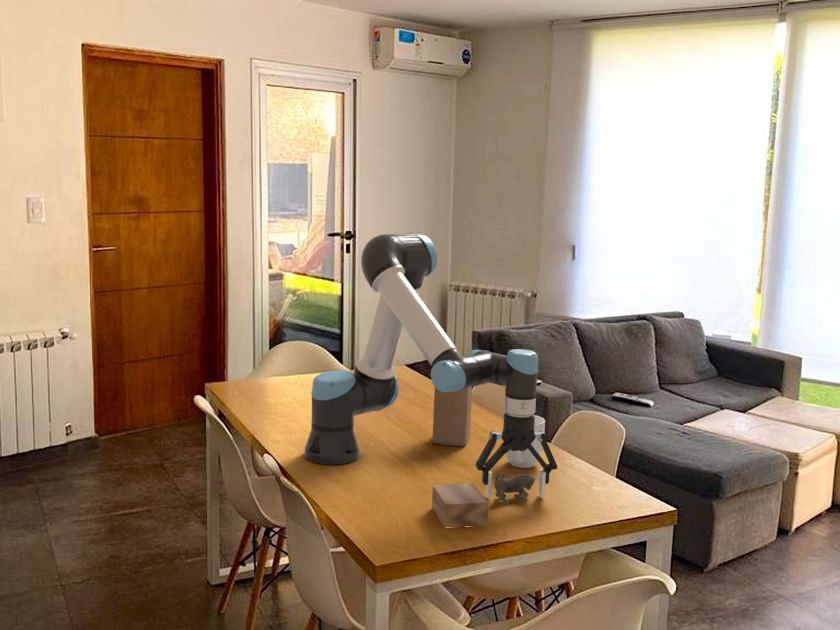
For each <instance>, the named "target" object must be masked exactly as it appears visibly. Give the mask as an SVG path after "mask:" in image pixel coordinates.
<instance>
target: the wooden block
mask: <svg viewBox="0 0 840 630" xmlns="http://www.w3.org/2000/svg"><path fill="white" fill-rule="evenodd" d="M472 395H473V387H468V388H464V389H461V390H459V391H452V392H441V391H439V390H438V389H436V387H435V386H434V396H433V397H434V398H433V416H432V417H433V421H432V439H431V440H432V443H433V444H435V445H443V446H451V447H453V446H454V447H465V446H466V445H467V442H468V440H469V438H470V436H471V421H472V420H471V419H472V417H471V416H472V400H473V399H472V397H473V396H472Z"/></svg>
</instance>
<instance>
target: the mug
mask: <svg viewBox="0 0 840 630" xmlns="http://www.w3.org/2000/svg"><path fill="white" fill-rule="evenodd" d="M534 416H535V424H534V433H539V432H540V431H543V432H544V433H545V431H546V430H545V429H546V420H545V418H544V417H541V416H539V415H535V414H534ZM531 445H532V446H533V448H534V449H535V450H536V451H537V453H538V454H539V455H540V456H541V455H542V451H543V447H542V445H541V443H540V442H539V441H538V440H537V438H535V440H534V441H533V442H532V444H531ZM505 455H506V457H507V460H508V462H509V463H510V465H511V466H514V467H515V468H519V469H529V468H530V469H531V468H533V467H535V465H536V464H537V463H538V461H537V459H536V458H535V457H534V456H533V454H532V453H531V452H530V451H529V449H526V450H525V451H519V450H518V451H512V450H509V451H508V452H507V453H505Z"/></svg>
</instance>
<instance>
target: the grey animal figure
mask: <svg viewBox="0 0 840 630" xmlns="http://www.w3.org/2000/svg"><path fill="white" fill-rule="evenodd" d="M505 476H506V474H505V473H504V472H499V473H497V474H496V475H495V477H494V488H495V491H496V493H495V497H498V498H499V499H500V500H501V501H502V502H503V503H504V504H505V505H506V506H510V503H509V501H508V500H507V499H506V498H505V497H507V495H506V494H511V493H512V494H513V493H516V494H514V495H513V497H515V499H517V500H521V501H525V500H526V501H529V499H528V496H529V495H528V492H526V491H525V489H526V490H528V491H530V490H531V489H532V486H533V485H534V483H535V481H536V477H535V475H532V474H530V473H521V474H517V475H514V476H513V477H511V478H505ZM505 493H506V494H505Z"/></svg>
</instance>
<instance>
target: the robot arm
mask: <svg viewBox="0 0 840 630" xmlns="http://www.w3.org/2000/svg"><path fill="white" fill-rule="evenodd" d="M360 259H361V260H360V263H361V269H362V274H363V276H364V278H365V280H366V282H367V283H368V285H369V286H370V288H371V289H372V291H373V292H375V293H379V294H380V295H379V299H378V302H377V303H378V304H377V307H376V310H375V315H374V317H373V321H372V325H371V329H370V332H369V336H368V340H367V343H366V346H365V350H364V354H363V358H360V359H358V360H357V361H356V362H355V367H354V370H353V372H352V371H349V370H345V369H337V370H328V371H325V372H322V373H319V374H317V375H316V376H314V378H313V380H312V387H311V393H310V394H311V426H310V427H311V428H310V432H309V435H308V438H307V441H306V443H305V446H304V458H305V459H306V460H308V461H309V462H311V463H315V464H319V465H329V466H330V465H331V466H333V465H338V466H339V465H344V464H349V463H353V462H356V461H357V460H358V459H359V457H360V447H359V444H358V440H357V436H356V434H355V430H354V424H355V423H354V422H355V420H354V419H355V418H354V417H355V416H360V415H364V414H367V413H368V414H369V413H372V412H379V411H382V410H384V409H387V408H388V407H390V406H392V405H393V404H394V402H396V399H397V398H398V395H399V393H400V392H399V391H400V384H398V382H399V380H398V379H399V378H398V377H397V375H396V370H395V368H394V361H395V359H396V354H397V351H398V348H399V344H400V341H401V337H402V334H403V332H404V331H403V330H404V329H405V330H406V332H407V333H408V334H409V336H410V337H411V339H412V341H414V343H415V345H416V346H417V348H418V349H419V350H420V352H421V353H422V355H423V356H424V357H425V359H426V360H427V362H428V363H429V365H430V366H431V367H432V368H431V371H430V378H431V381H432V383H431V384H432V385H433V386H434V388H435V387H436V389H438V390H439V391H441V392H452V391H459V390H461V389H464V388H468V387H472V388H473V387H477V386H478V387H479V386H481V385H485V384H493V385H497V386H500V387H501V386H502V387H505V390H504V391H505V393H504V394H505V395H504V408H503V410H504V412H505V413H504V414H503V428H502V432H495V431H494V430H492V431H490V432H489V438H488V440H487V443H486V444H485V445H484V448H483V450H482V452H481V453H480V455H479V457H478V459H477V461H476V462H475V467H476V469H477V470H478V471H482V477H481V481H482V484H483V485H484V486H485V493H484V494H485V496H486V497H485V498H486V499H487V500H488V499H489V500H491V499H492V497H491V496H492V479H493V473H492V471H491V470H492V469H493V468H494V466H495V465H496V464H497V463H499V461H500V460H501V459H502V458H503V456H505V455H506V453H507V452H508V451H509V450H512V451H518V450H519V451H525V450H526V449H529V451H530V452H531V453H532V454H533V456H534V457H535V458H536V459H537V463H538V464H540V465H541V468H539V477H538V493H537V494H538V495H539V497H540V499H545V491H546V485H549V482H550V474H551V472H552V471H553V470H557V469H558V464H557V462H556V460H555V458H554V455H553V453H552V451H551V449H550V447H549V443H548V438H547V437H548V436H547V433H545V432H543V431H540V432H539V433H534V424H535V416H534V415H535V413H536V406H537V405H536V401H537V386H538V384H537V383H538V373H539V356H538V353H536V352H535V351H533V350H531V349H524V348H523V349H522V348H521V349H520V348H516V349H510V350H508V352H507V355H504V354H500V353H496V352H492V351H489V350H485V349H484V350H481V349H473V350H471V351H470V353H468V354H467V355H466V356H463V354H462V353H461V352H460V351H459V350H458V348H457V346H456V345H455V344H454V342H453V341H452V339H451V338H450V337H449V336H448V334H447V332H445V329H444V328H442V326H441V325H440V323H439V321H437V319H436V318H435V316H434V315H433V313H432V312H431V311H430V310H429V308H428V307H427V305H426V303H425V302H424V301H423V300H422V298H421V297H420V295H419V294H418V293H417V291H419V290H420V289H421V288H422V286H423V283H424V282H423V281H424V279H425V277H429V275H431V274H432V273H434V272H435V270H436V268H437V267H438V266H437V264H438V253H437V249H436V247H435V244H434V242H433V241H432V240H431V238H430V237H428V236H426V235H424V234H423V233H422V234H421V233H414V232H409V233H398V234H397V233H396V234H395V233H394V234H393V233H392V234H389V233H385V234H383V233H382V234H379V235H376V236H374V237H373V238H371V239H370V240H369V241H368V242H367V243H366V244H365V246H364V247H363V250H362V253H361V258H360ZM535 438H537V440H538V441H539V442H540V443H541V445H542V447H543V448H542V451H543V452H544V454H545V457H546V459H547V461H548V463H547V462H545V460H544V459H543V458H542V456H541V455H539V454H538V453H537V451H536V450H535V449H534V448H533V446H532V445H531V444H532V442H533V441H534V440H535ZM499 440H502V441H503V442H501V444H500V445H499V447H498V448H497V450H495V452H494V453H493V454H492V455H491V453H492V451H493V450H494V448H495V447H496V444H497V443H498V442H499ZM490 455H491V457H490Z"/></svg>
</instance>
